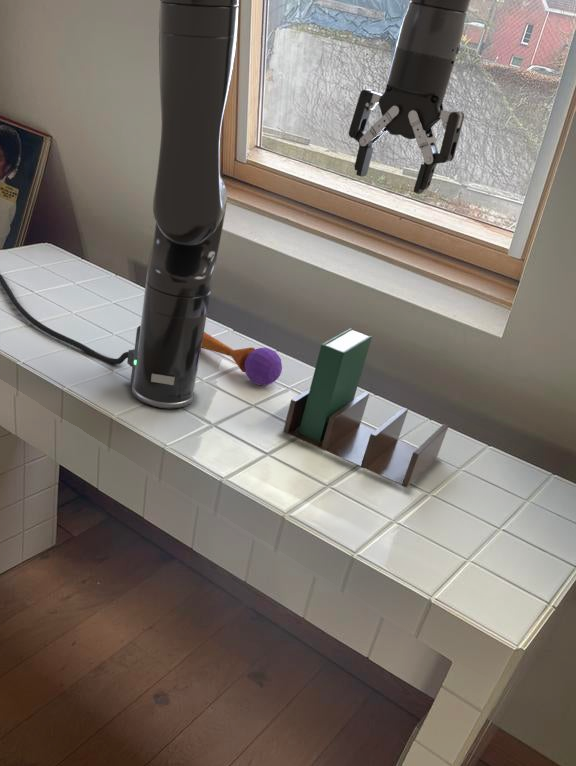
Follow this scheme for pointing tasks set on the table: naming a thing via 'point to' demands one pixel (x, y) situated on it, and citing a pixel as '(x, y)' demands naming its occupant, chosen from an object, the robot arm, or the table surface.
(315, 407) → the book
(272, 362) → the kendama
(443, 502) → the table surface
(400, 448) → the rack
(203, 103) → the robot arm
